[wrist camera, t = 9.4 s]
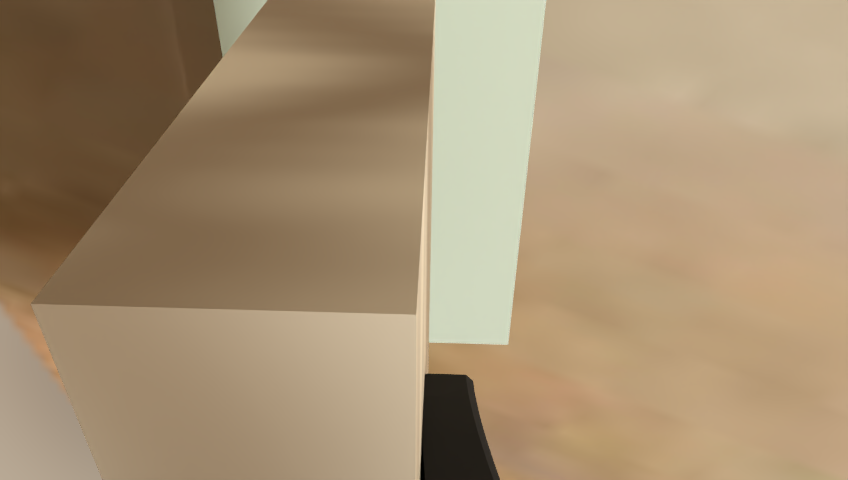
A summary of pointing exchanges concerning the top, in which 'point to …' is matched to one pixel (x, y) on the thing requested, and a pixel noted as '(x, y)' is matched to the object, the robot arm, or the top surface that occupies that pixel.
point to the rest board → (469, 155)
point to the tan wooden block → (266, 263)
